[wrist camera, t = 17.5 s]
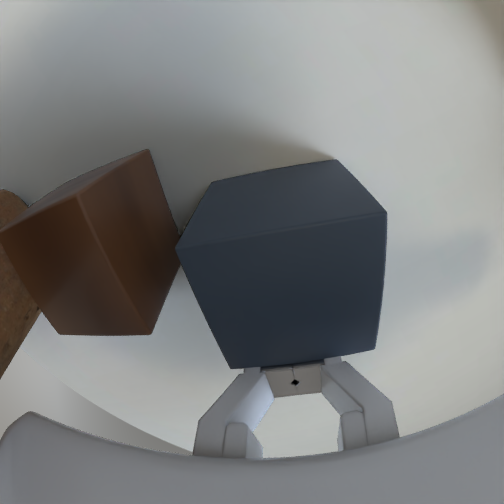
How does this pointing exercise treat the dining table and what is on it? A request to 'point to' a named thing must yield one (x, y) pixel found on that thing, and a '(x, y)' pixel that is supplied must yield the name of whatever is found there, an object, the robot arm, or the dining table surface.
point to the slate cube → (288, 264)
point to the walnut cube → (98, 250)
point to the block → (12, 291)
